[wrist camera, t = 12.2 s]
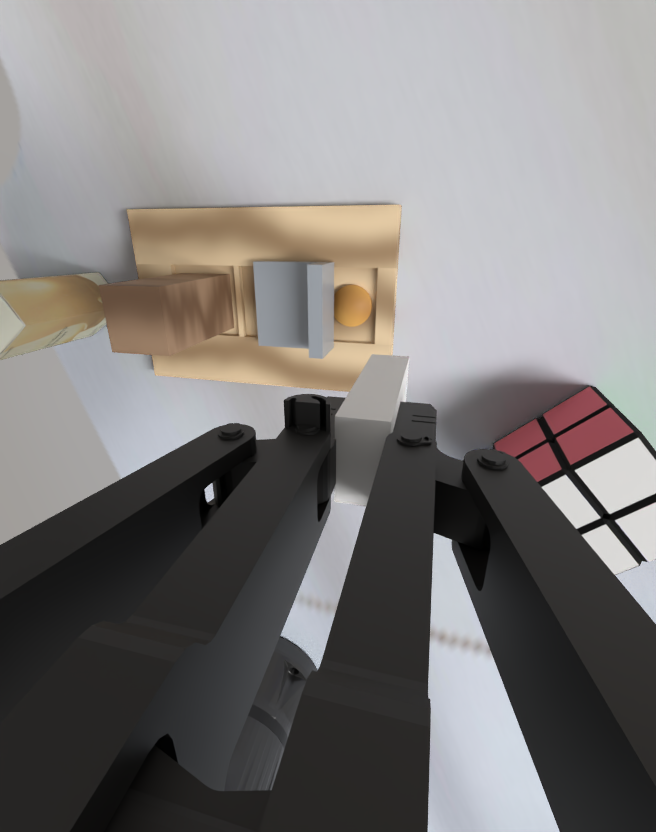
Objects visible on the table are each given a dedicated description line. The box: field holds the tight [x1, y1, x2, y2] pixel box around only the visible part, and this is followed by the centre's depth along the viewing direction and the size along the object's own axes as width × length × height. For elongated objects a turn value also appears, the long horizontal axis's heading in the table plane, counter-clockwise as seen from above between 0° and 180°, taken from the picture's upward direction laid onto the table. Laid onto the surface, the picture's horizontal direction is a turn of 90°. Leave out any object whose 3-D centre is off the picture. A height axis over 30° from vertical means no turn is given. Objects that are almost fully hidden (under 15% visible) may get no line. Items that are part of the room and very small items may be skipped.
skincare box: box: [0, 272, 108, 360], centre depth 40 cm, size 6×4×12 cm
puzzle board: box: [127, 205, 402, 392], centre depth 40 cm, size 16×25×2 cm, turn 90°
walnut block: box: [99, 273, 234, 356], centre depth 36 cm, size 5×5×11 cm
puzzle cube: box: [493, 386, 656, 575], centre depth 35 cm, size 10×10×10 cm
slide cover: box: [253, 261, 334, 359], centre depth 36 cm, size 7×7×4 cm
